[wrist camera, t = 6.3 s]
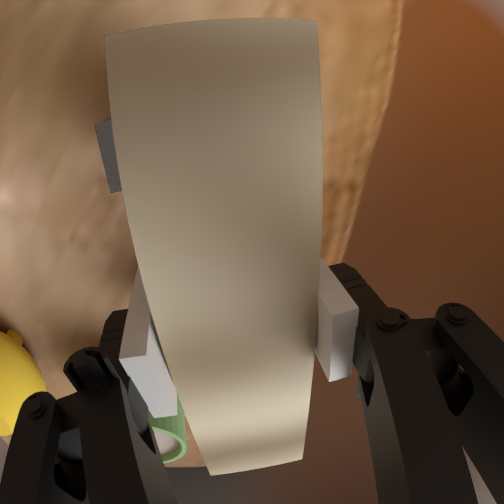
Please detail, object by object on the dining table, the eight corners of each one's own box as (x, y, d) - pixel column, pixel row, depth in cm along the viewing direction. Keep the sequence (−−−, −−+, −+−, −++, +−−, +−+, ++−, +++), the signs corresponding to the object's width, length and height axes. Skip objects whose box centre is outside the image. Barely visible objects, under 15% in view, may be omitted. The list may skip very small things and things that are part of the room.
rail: (143, 65, 10) (104, 36, 5) (260, 54, 11) (316, 20, 6) (200, 387, 18) (210, 475, 13) (274, 376, 19) (302, 459, 13)
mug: (153, 330, 37) (149, 413, 26) (195, 379, 42) (202, 454, 32) (78, 361, 37) (62, 434, 27) (124, 403, 42) (120, 471, 32)
